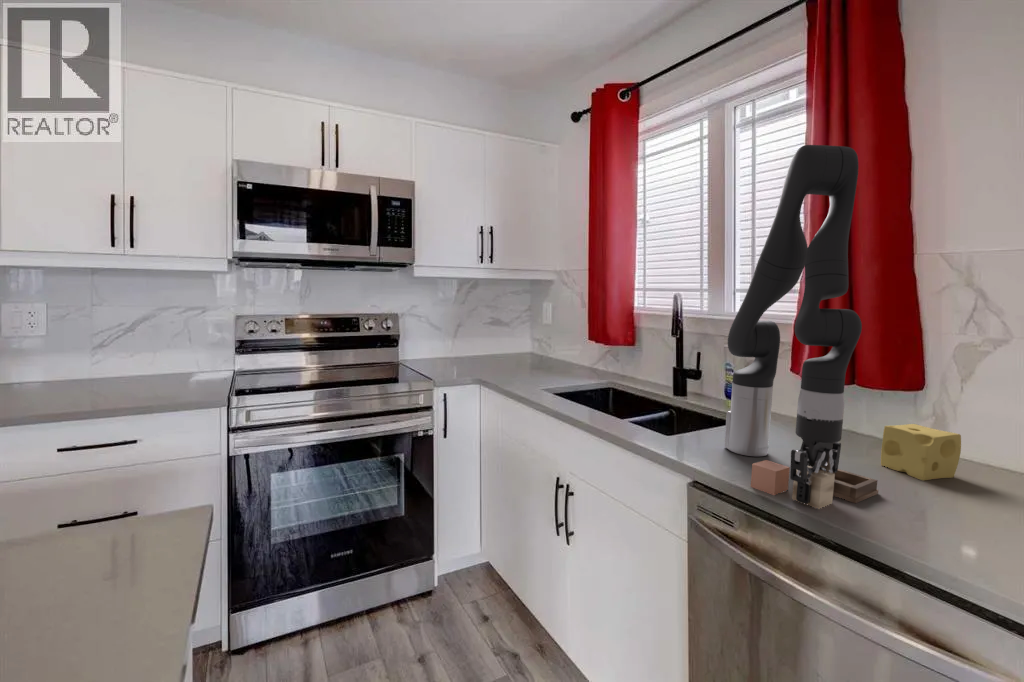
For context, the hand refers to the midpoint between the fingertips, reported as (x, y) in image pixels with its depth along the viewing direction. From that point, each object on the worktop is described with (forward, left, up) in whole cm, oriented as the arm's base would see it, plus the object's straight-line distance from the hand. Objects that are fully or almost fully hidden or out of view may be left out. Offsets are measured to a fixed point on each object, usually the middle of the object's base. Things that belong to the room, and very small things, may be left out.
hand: (812, 498), depth 98 cm
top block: (-8, -1, -1) cm, 8 cm away
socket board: (0, +12, -1) cm, 12 cm away
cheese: (+3, +40, -1) cm, 40 cm away
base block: (0, 0, -1) cm, 1 cm away
